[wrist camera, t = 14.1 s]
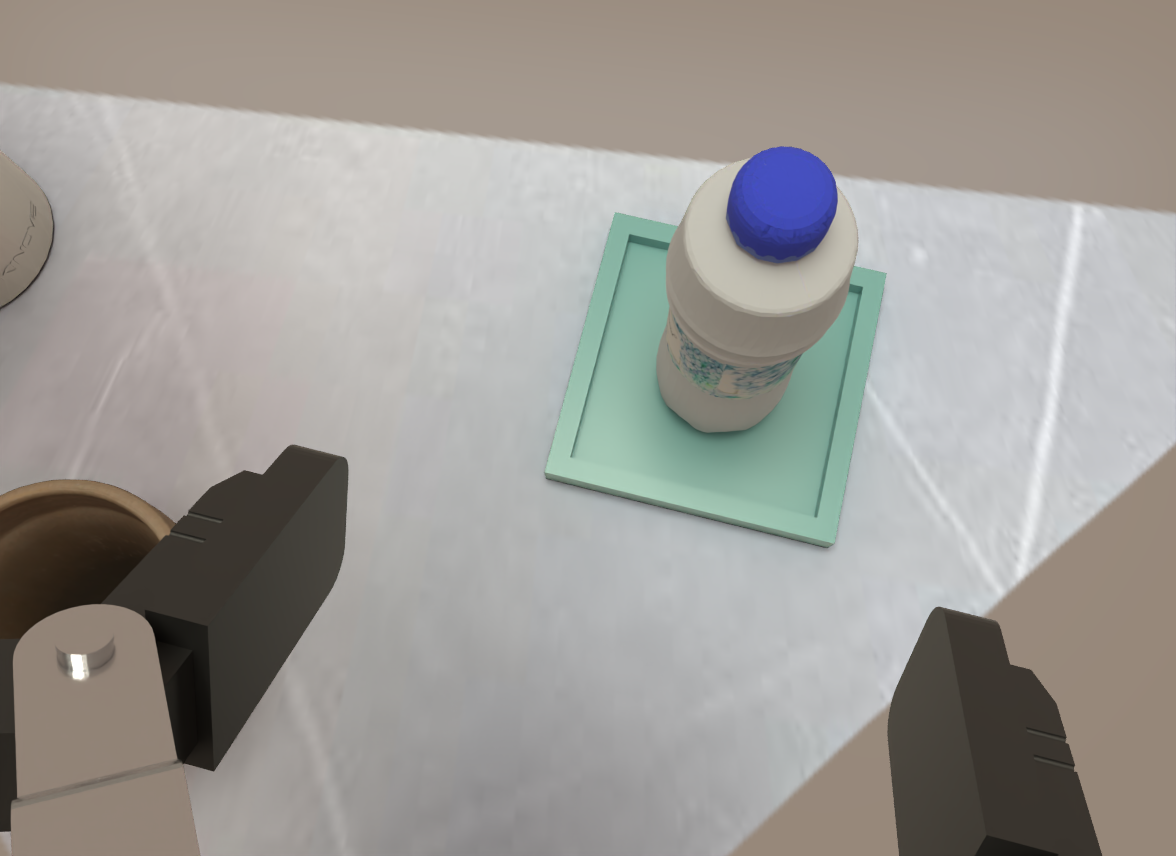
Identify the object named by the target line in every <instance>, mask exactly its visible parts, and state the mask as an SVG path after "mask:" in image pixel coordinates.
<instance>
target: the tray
mask: <svg viewBox="0 0 1176 856" xmlns="http://www.w3.org/2000/svg"><path fill="white" fill-rule="evenodd" d="M677 227H678V226H674V225H669V224H665V223H661V222H656V221H652V220H647V219H643V218H638V217H634V216H629V215H625V214H621V213H616V212H615V214H614V218H613V221H612V225H611V229H610V232H609V236H608V240H607V243H606V247H605V251H604V255H603V258H602V262H601V266H600V269H599V273H598V277H597V280H596V284H595V288H594V291H593V295H592V299H591V303H590V306H589V310H588V314H587V317H586V321H585V325H584V328H583V332H582V336H581V339H580V343H579V347H578V351H577V354H576V358H575V362H574V365H573V369H572V373H571V376H570V380H569V384H568V388H567V391H566V395H565V399H564V402H563V406H562V410H561V413H560V417H559V421H558V424H557V428H556V432H555V436H554V439H553V443H552V447H551V450H550V454H549V458H548V461H547V465H546V469H545V476H546V479H550V480H554V481H558V482H562V483H566V484H570V485H574V486H578V487H582V488H586V489H590V490H595V491H599V492H603V493H607V494H611V495H615V496H619V497H623V498H627V499H631V500H635V501H639V502H643V503H647V504H651V505H655V506H659V507H663V508H667V509H671V510H675V511H680V512H684V513H688V514H692V515H696V516H700V517H704V518H708V519H712V520H716V521H720V522H724V523H728V524H732V525H736V526H740V527H744V528H748V529H752V530H756V531H760V532H765V533H769V534H773V535H777V536H781V537H785V538H789V539H793V540H797V541H801V542H805V543H809V544H813V545H817V546H821V547H825V548H828V547H830V546H831V545H833V544H834V543H835V538H836V532H837V527H838V522H839V517H840V512H841V507H842V501H843V496H844V491H845V486H846V481H847V476H848V470H849V465H850V460H851V455H852V450H853V444H854V439H855V434H856V429H857V424H858V419H859V413H860V408H861V403H862V398H863V393H864V388H865V382H866V377H867V372H868V367H869V362H870V356H871V351H872V346H873V341H874V336H875V331H876V325H877V320H878V315H879V310H880V305H881V300H882V294H883V289H884V284H885V279H886V274H887V273H883V272H879V271H874V270H870V269H865V268H861V267H856V266H854V267H853V271H852V274H851V278H850V286H849V291H848V295H847V298H846V301H845V304H844V306H843V308H842V310H841V312H840V314H839V316H838V318H837V319H836V320H835V322H834V323H833V324H832V325H831V327H830V328H829V329H828V330H827V331H826V333H825V334H824V335H823V337H822V338H821V339H820V340H819V341H818V342H817V343H816V344H814V345H813V346H812V347H811V348H810V349H808V350H807V351H805V352H804V353H803V354H802V356H801V357H800V359H799V361H798V362H797V364H796V366H795V368H794V369H793V372H792V375H791V378H790V381H789V384H788V386H787V388H786V391H785V392H784V394H783V396H782V398H781V400H780V401H779V402H778V404H777V405H776V406H775V407H774V409H773V410H772V411H771V412H770V413H769V414H768V415H767V416H766V417H764V418H763V419H762V420H761V421H760V422H759V423H757V424H756V425H754V426H752V427H751V428H749V429H747V430H741V431H729V432H711V433H706V432H702V431H699V430H697V429H695V428H694V427H692V426H691V425H690V424H689V423H688V422H687V421H685V420H684V419H683V418H681V417H680V416H679V415H678V414H677V413H675V412H674V411H673V410H672V409H671V408H669V407H668V406H667V405H666V403H665V401H664V400H663V398H662V396H661V392H660V389H659V384H658V378H657V373H656V357H657V353H658V348H659V343H660V340H661V337H662V334H663V332H664V329H665V327H666V324H667V318H668V313H669V307H670V306H669V303H668V299H667V293H666V258H667V253H668V248H669V245H670V242H671V239H672V237H673V235H674V233H675V231H676V229H677Z"/></svg>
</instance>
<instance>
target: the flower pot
mask: <svg viewBox="0 0 1176 856" xmlns="http://www.w3.org/2000/svg"><path fill="white" fill-rule="evenodd" d="M175 525H176V523H174V522H173V521H172V520H171V519H170V518H169V517H167V516H166V515H165V514H163V513H162V512H161V511H159V510H158V509H156V508H155V507H153V506H151V505H150V504H148V503H147V502H146V501H144V500H142V499H141V498H139V497H137V496H135V495H133V494H132V493H130V492H128V491H125V490H123V489H121V488H118V487H115V486H112V485H109V484H105V483H100V482H96V481H88V480H51V481H45V482H39V483H34V484H31V485H27V486H23V487H20V488H17V489H14V490H12V491H10V492H7V493H5V494H3V495H1V496H0V639H20V638H22V636H23V635H24V634H25V633H26V632H27V631H28V630H29V629H30V628H32V627H33V626H34V625H35V624H37V623H38V622H40V621H41V620H43V619H45V618H46V617H48V616H51V615H53V614H55V613H57V612H60V611H63V610H66V609H69V608H73V607H78V606H83V605H92V604H101V603H102V602H103V601H104V600H105V599H106V598H107V597H108V596H109V595H110V594H111V592H112V591H113V590H114V589H115V588H116V587H117V586H118V585H119V584H120V583H121V582H122V581H123V580H124V579H125V578H126V577H127V575H128V574H129V573H130V572H131V571H132V570H133V569H134V568H135V567H136V566H137V565H138V564H139V563H140V562H141V561H142V560H143V559H144V557H145V556H146V555H147V554H148V553H149V552H150V551H151V550H152V549H153V548H154V547H155V546H156V545H157V544H158V543H159V542H160V541H161V539H162V538H163V537H164V536H165V535H168V536H169V534H170V530H171V529H172V528H173V527H174V526H175Z"/></svg>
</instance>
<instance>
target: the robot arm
mask: <svg viewBox="0 0 1176 856" xmlns="http://www.w3.org/2000/svg"><path fill="white" fill-rule="evenodd" d="M52 233H53V220H52V214H51V208H50V205H49V203H48V201H47V198H46V196H45V194H44V192H43V191H42V190H41V188H40V187H39V186H38V185H37V183H36V182H35V181H34V180H33V179H32V178H31V177H30V176H29V175H27V174H26V173H25V172H24V171H23V170H22V169H21V168H20V167H19V166H17V165H16V164H15V163H14V162H13V161H12V160H11V159H10V158H8V157H7V156H6V155H5V154H4V153H3V152H2V151H1V150H0V307H1V306H3V305H5V304H7V303H8V302H10V301H12V300H13V299H14V298H15V297H16V296H18V295H19V294H20V293H21V292H22V291H23V290H25V289H26V288H27V287H28V285H29V284H30V283H31V282H32V280H33V279H34V278H35V277H36V276H37V274H38V273H39V271H40V269H41V267H42V266H43V264H44V262H45V260H46V258H47V255H48V252H49V249H50V246H51V242H52ZM347 491H348V463H347V460H346V458H345V457H341V456H337V455H333V454H329V453H325V452H321V451H317V450H313V449H309V448H305V447H301V446H297V445H290V446H288V447H287V448H286V449H285V450H284V451H283V452H282V453H281V455H280V456H279V457H278V458H277V459H276V460H275V461H274V463H273V464H272V465H271V466H270V467H269V468H268V469H267V471H266V472H265V473H264V474H263V475H261V474H257V473H253V472H249V471H245V470H244V471H242V472H240V473H238V474H236V475H234V476H232V477H230V478H228V479H226V480H224V481H222V482H220V483H218V484H216V485H214V486H212V487H211V488H210V489H209V490H208V491H207V492H206V493H205V494H204V495H203V496H202V497H201V498H200V499H199V500H198V501H197V502H196V503H195V504H194V506H193V507H192V508H191V509H190V510H189V512H188V515H187V516H185V515H184V516H183V517H182V518H181V519H180V520H179V521H178V522H177V524H176V525H175V526H174V527H173V528H172V529H171V530H170V534H169V536H168V535H165V536H164V537H163V538H162V539H161V541H160V542H159V543H158V544H157V545H156V546H155V547H154V548H153V549H152V550H151V551H150V552H149V553H148V554H147V555H146V556H145V557H144V559H143V560H142V561H141V562H140V563H139V564H138V565H137V566H136V567H135V568H134V569H133V570H132V571H131V572H130V573H129V574H128V575H127V577H126V578H125V579H124V580H123V581H122V582H121V583H120V584H119V585H118V586H117V587H116V588H115V589H114V590H113V591H112V592H111V594H110V595H109V596H108V597H107V598H106V599H105V600H104V601H103V602H102V603H101V604H92V605H83V606H78V607H73V608H69V609H66V610H63V611H60V612H57V613H55V614H53V615H51V616H48V617H46V618H45V619H43V620H41V621H40V622H38V623H37V624H35V625H34V626H33V627H32V628H30V629H29V630H28V631H27V632H26V633H25V634H24V635H23V636H22V638H20V639H0V832H5V831H11V847H12V856H200V851H199V846H198V840H197V835H196V830H195V825H194V819H193V814H192V809H191V804H190V798H189V793H188V788H187V783H186V777H185V773H184V768H183V764H184V763H185V764H189V765H193V766H196V767H200V768H203V769H207V770H211V771H215V769H216V768H217V766H218V765H219V763H220V761H221V760H222V758H223V757H224V755H225V754H226V752H227V751H228V749H229V748H230V746H231V744H232V743H233V741H234V740H235V738H236V737H237V735H238V734H239V732H240V730H241V729H242V727H243V726H244V724H245V723H246V721H247V720H248V718H249V717H250V715H251V713H252V712H253V710H254V709H255V707H256V706H257V704H258V703H259V701H260V700H261V698H262V696H263V695H264V693H265V692H266V690H267V689H268V687H269V686H270V684H271V682H272V681H273V679H274V678H275V676H276V675H277V673H278V672H279V670H280V669H281V667H282V665H283V664H284V662H285V661H286V659H287V658H288V656H289V655H290V653H291V651H292V650H293V648H294V647H295V645H296V644H297V642H298V641H299V639H300V638H301V636H302V634H303V633H304V631H305V630H306V628H307V627H308V625H309V624H310V622H311V620H312V619H313V617H314V616H315V614H316V613H317V611H318V610H319V608H320V607H321V605H322V603H323V602H324V600H325V599H326V597H327V596H328V594H329V593H330V591H331V589H332V587H333V585H334V583H335V581H336V579H337V576H338V573H339V570H340V567H341V563H342V560H343V555H344V548H345V532H346V511H347ZM1065 741H1066V734H1065V731H1064V727H1063V724H1062V721H1061V717H1060V714H1059V711H1058V708H1057V704H1056V703H1055V701H1054V700H1053V698H1052V697H1051V696H1050V695H1049V693H1048V692H1047V690H1046V689H1045V688H1044V686H1043V685H1042V684H1041V682H1040V681H1039V680H1038V679H1037V677H1036V676H1035V674H1033V672H1032V671H1031V670H1030V669H1026V668H1022V667H1018V666H1014V665H1010V663H1009V660H1008V655H1007V651H1006V648H1005V644H1004V640H1003V636H1002V633H1001V629H1000V626H999V624H998V623H997V622H996V621H994V620H991V619H987V618H983V617H979V616H975V615H971V614H967V613H963V612H959V611H955V610H951V609H947V608H943V607H936V608H935V609H934V610H933V611H932V612H931V614H930V615H929V617H928V619H927V621H926V623H925V626H924V628H923V630H922V632H921V634H920V637H919V639H918V641H917V643H916V645H915V648H914V650H913V652H912V654H911V656H910V659H909V661H908V663H907V665H906V667H905V670H904V672H903V674H902V676H901V678H900V681H899V683H898V685H897V687H896V690H895V692H894V695H893V699H892V702H891V707H890V712H889V719H888V745H889V756H890V765H891V776H892V786H893V797H894V807H895V817H896V827H897V838H898V848H899V856H1102V853H1101V850H1100V847H1099V843H1098V840H1097V837H1096V834H1095V830H1094V827H1093V824H1092V820H1091V817H1090V814H1089V810H1088V807H1087V804H1086V800H1085V797H1084V794H1083V790H1082V787H1081V784H1080V780H1079V777H1078V774H1077V772H1074V766H1075V764H1074V761H1073V757H1072V754H1071V751H1070V748H1069V744H1067V743H1065Z"/></svg>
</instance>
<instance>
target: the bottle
mask: <svg viewBox="0 0 1176 856" xmlns="http://www.w3.org/2000/svg"><path fill="white" fill-rule="evenodd" d="M857 251H858V229H857V225H856V221H855V217H854V214H853V212H852V209H851V207H850V205H849V203H848V201H847V199H846V198H845V196H844V195H843V193H842V192H841V191H840V189H839V188H838V187H837V186H836V182H835V179H834V177H833V175H832V173H831V171H830V170H829V169H828V167H827V166H826V165H825V163H823V162H822V161H821V160H820V159H819V158H818V157H816V156H814V155H813V154H811V153H810V152H807V151H804V150H802V149H799V148H794V147H777V148H770V149H768V150H764V151H761V152H760V153H758V154H756V155H754V156H753V157H752V158H748V159H744V160H741V161H738V162H735V163H732V164H730V165H728V166H727V167H725V168H723V169H721V170H719V171H717V172H716V173H715V174H714V175H712V176H711V177H710V178H709V179H707V180H706V181H705V182H704V183H703V185H702V186H701V187H700V188H699V189H698V190H697V192H696V193H695V195H694V196H693V198H692V200H691V202H690V204H689V206H688V208H687V211H686V213H685V215H684V217H683V219H682V221H681V223H680V225H679V226H678V227H677V229H676V231H675V233H674V235H673V237H672V239H671V242H670V245H669V248H668V253H667V258H666V293H667V299H668V303H669V306H670V307H669V313H668V318H667V324H666V327H665V329H664V332H663V334H662V337H661V340H660V343H659V348H658V353H657V357H656V373H657V378H658V384H659V389H660V392H661V396H662V398H663V400H664V401H665V403H666V405H667V406H668V407H669V408H671V409H672V410H673V411H674V412H675V413H677V414H678V415H679V416H680V417H681V418H683V419H684V420H685V421H687V422H688V423H689V424H690V425H691V426H692V427H694V428H695V429H697V430H699V431H702V432H706V433H711V432H729V431H741V430H747V429H749V428H751V427H752V426H754V425H756V424H757V423H759V422H760V421H761V420H762V419H763V418H764V417H766V416H767V415H768V414H769V413H770V412H771V411H772V410H773V409H774V407H775V406H776V405H777V404H778V402H779V401H780V400H781V398H782V396H783V394H784V392H785V391H786V388H787V386H788V384H789V381H790V378H791V375H792V372H793V369H794V368H795V366H796V364H797V362H798V361H799V359H800V357H801V356H802V354H803V353H804V352H805V351H807V350H808V349H810V348H811V347H812V346H813V345H814V344H816V343H817V342H818V341H819V340H820V339H821V338H822V337H823V335H824V334H825V333H826V331H827V330H828V329H829V328H830V327H831V325H832V324H833V323H834V322H835V320H836V319H837V318H838V316H839V314H840V312H841V310H842V308H843V306H844V304H845V301H846V298H847V295H848V291H849V286H850V278H851V274H852V271H853V267H854V263H855V259H856V255H857Z"/></svg>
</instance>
